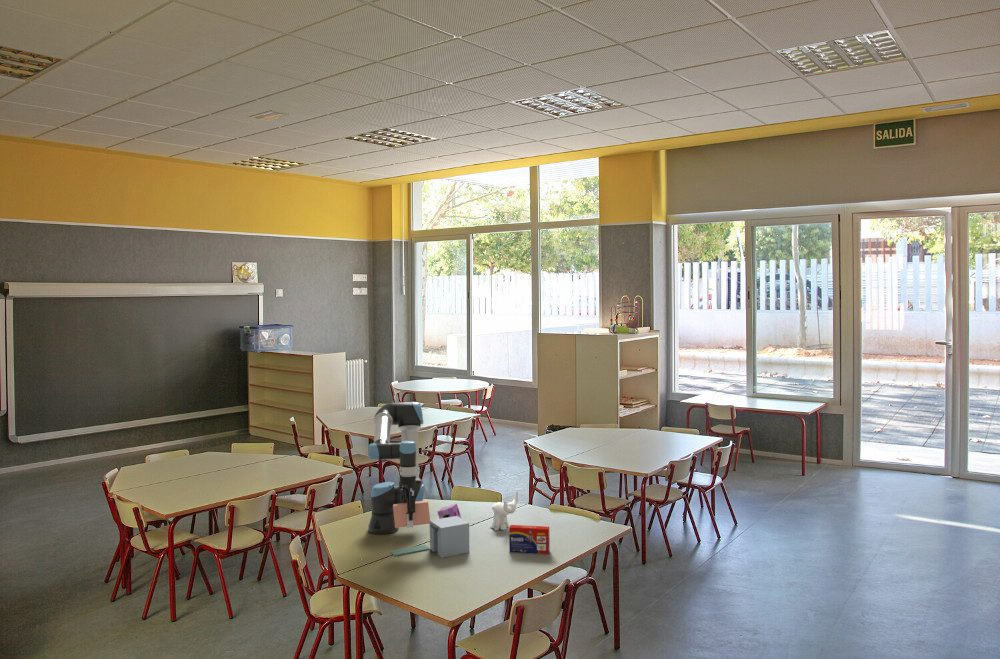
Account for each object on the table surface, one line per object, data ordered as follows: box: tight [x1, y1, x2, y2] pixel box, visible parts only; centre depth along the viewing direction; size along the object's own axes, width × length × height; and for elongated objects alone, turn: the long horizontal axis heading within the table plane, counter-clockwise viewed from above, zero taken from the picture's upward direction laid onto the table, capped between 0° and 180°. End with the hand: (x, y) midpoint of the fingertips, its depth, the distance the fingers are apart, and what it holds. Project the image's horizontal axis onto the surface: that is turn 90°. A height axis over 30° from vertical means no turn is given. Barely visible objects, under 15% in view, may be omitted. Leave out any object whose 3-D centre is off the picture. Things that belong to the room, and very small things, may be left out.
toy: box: [437, 503, 463, 519], centre depth 358 cm, size 11×8×15 cm
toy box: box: [508, 524, 551, 555], centre depth 334 cm, size 18×4×12 cm, turn 79°
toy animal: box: [490, 490, 519, 531], centre depth 369 cm, size 20×12×17 cm, turn 161°
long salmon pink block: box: [393, 499, 431, 529], centre depth 335 cm, size 4×16×10 cm, turn 95°
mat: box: [389, 544, 431, 557], centre depth 337 cm, size 6×17×1 cm, turn 119°
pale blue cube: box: [429, 516, 470, 559], centre depth 336 cm, size 13×15×14 cm
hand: (407, 525), depth 335 cm, fingers closed on long salmon pink block, 5 cm apart
